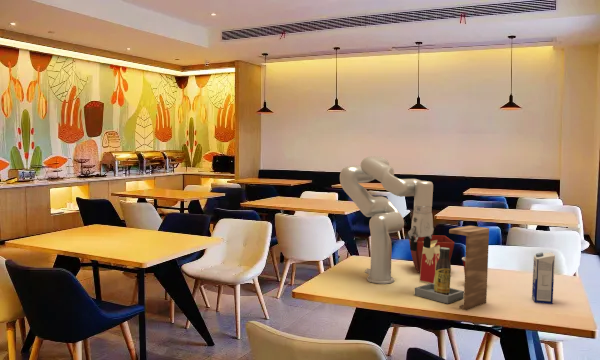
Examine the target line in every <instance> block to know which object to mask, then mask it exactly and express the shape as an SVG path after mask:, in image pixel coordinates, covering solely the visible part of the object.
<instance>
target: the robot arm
mask: <svg viewBox="0 0 600 360" xmlns="http://www.w3.org/2000/svg"><path fill="white" fill-rule="evenodd" d="M374 180H377V181H378V182H380V183H381V185H382V187H383V189H384V190H386V192H389V193H390V194H392V195H395V196H396V197H413V198H414V200H413V213H412V218H411V228H410V230H408V232H407V235H408V240H409V239H410V243H409V250H410V251H411V250H412V251H417V242H416V241H417V239H418V237H425V238H424V245H423V247H425V248H430V245H431V239H432V237H431V236H432V235H433V234H434V230H435V228H434V221H433V220H434V219H433V213H432V209H433V208H432V207H433V197H434V196H433V195H434V194H433V192H434V184H433V182H432V181H429V180H428V181H427V180H421V179H417V178H398V177H397V176H395V170H394V167H393V166H391V165H390V162H389V161H388V159H387V158H385V157H383V156H367V157H365V158H363V159H362V160H361V162H360V165H349V166H344V167H343V168H342V169H341V171H340V174H339V182H340V186H341V188H342V190H343V191H344V193H346V195H347V196H348V197H349V198H350V199H351V200H352V202H353V203H354V204H355V205H356V207H357V208H358V210H360V212H361V213H362V215H363V216H365V217H367V218H370V219H369V225H368V227H369V231H370V268H366V270H365V271H364V273H365V274H368V276H367V277H366V280H367V281H368V282H370V283H373V284H380V285H385V284H387V285H388V284H392V283H394V282H395V278H394V277H393V276H392V246H393V245H392V239H391V236H390V234H391V233H397V232H401V231H402V229H403V228H404V225H405V222H404V221H405V220H404V218H403V216H402V214H401V213H400V212H399V210H398V209H397V208H396V207H395V205H394V204H393V203H392V202H391V200H390V199H389V198H387V197H385V196H383V195H381V196H373V195H372V194H371V193H369V191H368V190H367V188H365V187H364V186H363V185H362V184H360V183H369V182H371V181H374ZM414 237H415V238H414Z"/></svg>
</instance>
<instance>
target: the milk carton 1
mask: <svg viewBox="0 0 600 360" xmlns="http://www.w3.org/2000/svg"><path fill="white" fill-rule="evenodd" d="M423 243H424V242H423ZM439 250H440V245H439V244H438V243H437V240H435V241H431V245H430V248H425V247H423V252H422V259H421V269H420V273H419V283H423V284H430V283H433V284H435V271H436V264H437V261H438V260H439V257H440V251H439Z"/></svg>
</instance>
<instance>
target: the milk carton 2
mask: <svg viewBox="0 0 600 360" xmlns="http://www.w3.org/2000/svg"><path fill="white" fill-rule="evenodd" d="M555 256H556V255H555V254H554V253H553V252H545V253H544V252H538V253H535V255H533V269H532V289H531V290H532V291H531V298H532V299H531V300H533V302H534V303H537V304H547V305H553V302H554V285H555V284H554V282H555V279H554V278H555V263H556V261H555V260H556V257H555Z"/></svg>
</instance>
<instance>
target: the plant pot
mask: <svg viewBox="0 0 600 360" xmlns="http://www.w3.org/2000/svg"><path fill="white" fill-rule="evenodd" d="M431 237H432V239H431V241H435V240H437V243H438V244H439V245H440V248H441V247H444V248H449V249H450V252H449V261H450V262H451V259H452V255H453V251H454V247H455V241H453V240H452V239H450V238H449V237H447V236H446V235H440V234H439V235H435V234H434V235H432V236H431ZM414 238H415V237H414ZM424 238H425V237H418V239H417V241H416V242H417V251H412V250H410V255H411V258H412V262H413V266H414V269H415V270H416V271H417V272H418V273H419V274H420V269H421V259H422V252H423V245H424V243H423V242H424ZM408 241H409V244H410V239H409V238H408Z"/></svg>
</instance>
